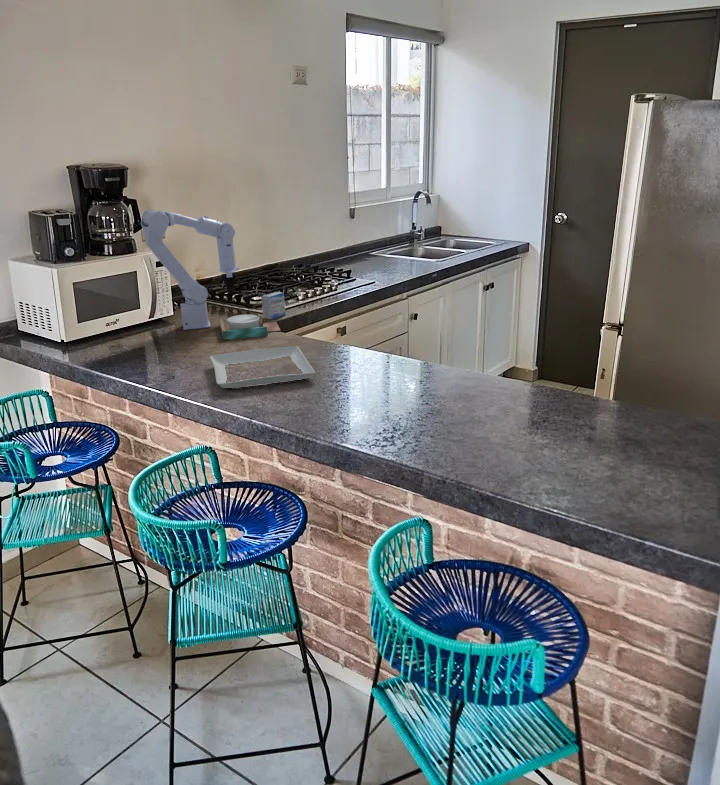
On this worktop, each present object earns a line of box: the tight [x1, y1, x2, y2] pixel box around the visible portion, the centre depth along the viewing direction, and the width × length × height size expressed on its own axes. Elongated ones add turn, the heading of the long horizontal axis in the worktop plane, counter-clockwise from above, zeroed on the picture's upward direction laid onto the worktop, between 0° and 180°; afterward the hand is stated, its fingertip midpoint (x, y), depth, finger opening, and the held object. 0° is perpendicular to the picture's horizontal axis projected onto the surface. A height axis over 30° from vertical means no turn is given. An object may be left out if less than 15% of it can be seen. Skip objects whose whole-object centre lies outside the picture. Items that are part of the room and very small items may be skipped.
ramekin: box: [226, 314, 260, 330], centre depth 246 cm, size 11×11×5 cm
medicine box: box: [260, 291, 286, 320], centre depth 265 cm, size 8×4×9 cm, turn 143°
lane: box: [219, 313, 282, 341], centre depth 250 cm, size 20×20×3 cm
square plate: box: [209, 345, 316, 389], centre depth 205 cm, size 27×27×4 cm
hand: (231, 293), depth 262 cm, fingers closed
